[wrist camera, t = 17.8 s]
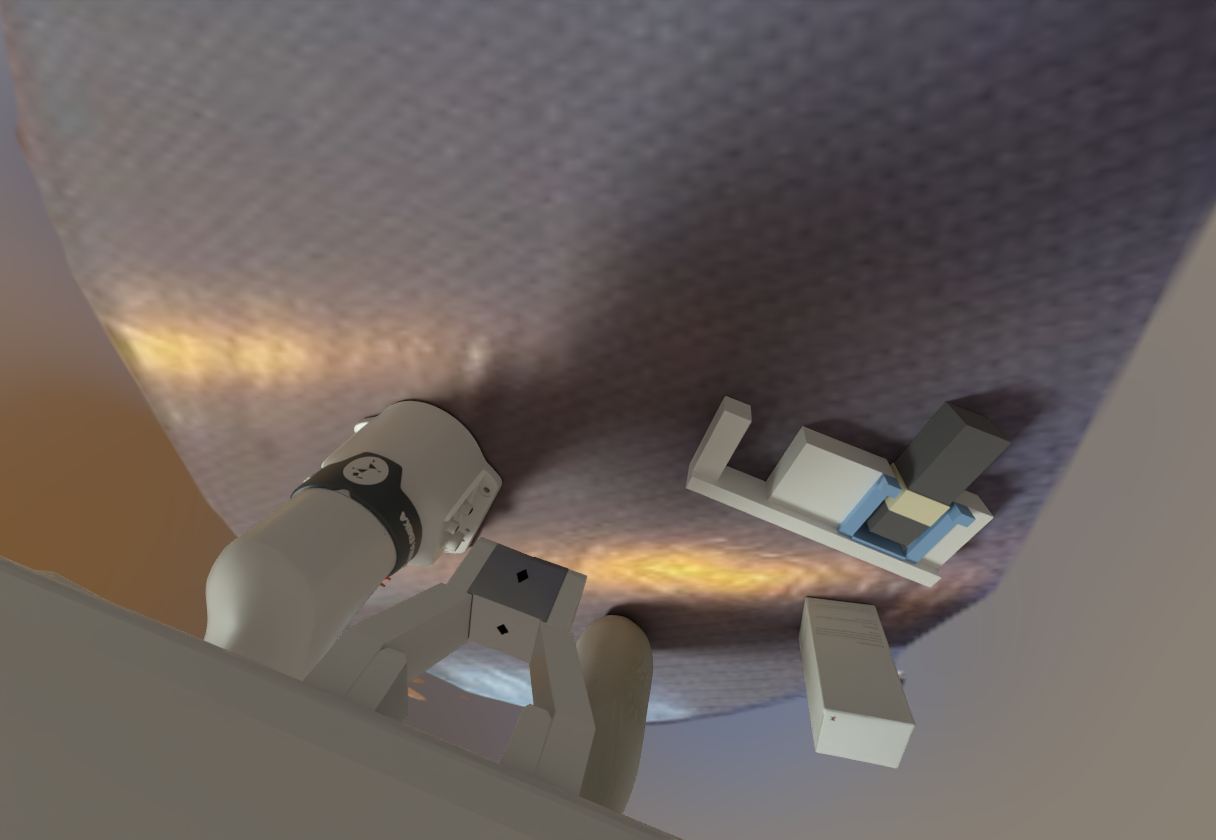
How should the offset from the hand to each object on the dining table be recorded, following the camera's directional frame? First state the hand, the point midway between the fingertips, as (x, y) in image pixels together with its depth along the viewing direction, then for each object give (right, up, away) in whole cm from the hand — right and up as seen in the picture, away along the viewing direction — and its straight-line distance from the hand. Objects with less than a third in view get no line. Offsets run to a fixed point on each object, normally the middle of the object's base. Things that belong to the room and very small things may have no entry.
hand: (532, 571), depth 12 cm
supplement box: (+28, -19, +40) cm, 52 cm away
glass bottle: (+4, -24, +49) cm, 55 cm away
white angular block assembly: (+23, -1, +31) cm, 39 cm away
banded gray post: (+30, 0, +28) cm, 41 cm away
